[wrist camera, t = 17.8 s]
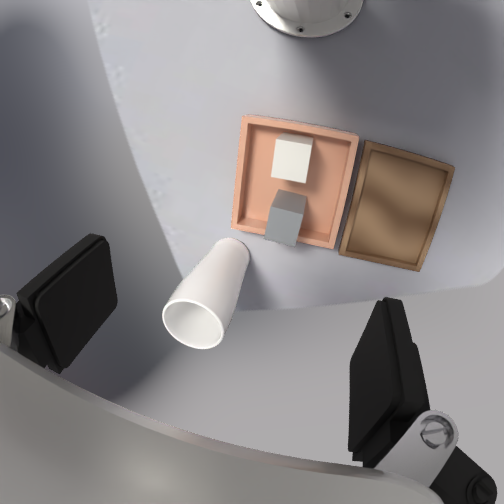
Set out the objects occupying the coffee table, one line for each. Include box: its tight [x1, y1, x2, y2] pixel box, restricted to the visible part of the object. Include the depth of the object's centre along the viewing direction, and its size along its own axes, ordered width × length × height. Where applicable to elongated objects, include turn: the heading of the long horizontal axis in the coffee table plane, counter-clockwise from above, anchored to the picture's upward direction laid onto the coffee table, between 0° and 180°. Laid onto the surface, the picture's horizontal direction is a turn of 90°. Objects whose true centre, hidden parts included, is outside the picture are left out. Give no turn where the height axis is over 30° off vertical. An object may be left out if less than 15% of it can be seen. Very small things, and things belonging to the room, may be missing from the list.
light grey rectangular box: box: [271, 132, 314, 183], centre depth 31 cm, size 4×3×6 cm
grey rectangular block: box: [264, 189, 307, 247], centre depth 35 cm, size 4×3×6 cm
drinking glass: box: [162, 238, 250, 349], centre depth 37 cm, size 7×7×15 cm
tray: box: [338, 140, 455, 272], centre depth 34 cm, size 14×11×1 cm
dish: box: [231, 114, 359, 249], centre depth 35 cm, size 13×12×3 cm
